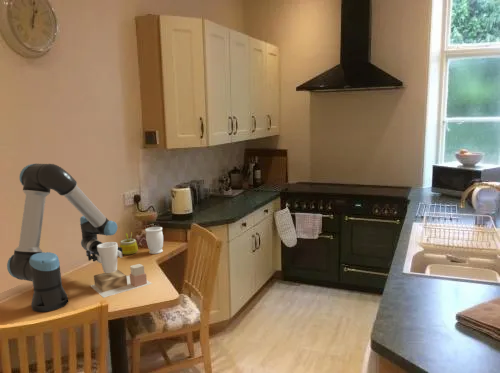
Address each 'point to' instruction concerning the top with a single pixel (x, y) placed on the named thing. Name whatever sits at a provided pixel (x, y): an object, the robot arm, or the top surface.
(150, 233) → the jar
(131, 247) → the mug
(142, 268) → the terracotta tower
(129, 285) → the white board
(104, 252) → the foam cup
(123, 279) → the oak plinth
